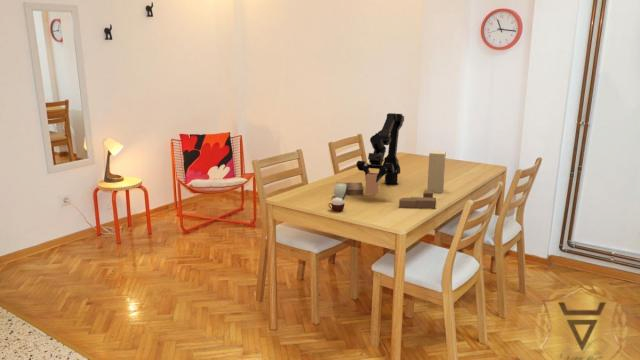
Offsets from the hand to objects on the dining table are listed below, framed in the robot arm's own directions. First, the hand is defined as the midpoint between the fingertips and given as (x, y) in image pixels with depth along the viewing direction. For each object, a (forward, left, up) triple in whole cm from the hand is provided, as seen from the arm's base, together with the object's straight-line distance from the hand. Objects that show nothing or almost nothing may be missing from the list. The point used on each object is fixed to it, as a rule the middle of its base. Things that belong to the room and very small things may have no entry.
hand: (371, 181), depth 260 cm
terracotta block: (-1, -1, -7) cm, 7 cm away
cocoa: (+16, +15, -11) cm, 24 cm away
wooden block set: (-22, +3, -11) cm, 25 cm away
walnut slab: (+10, -17, -10) cm, 23 cm away
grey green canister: (+15, -6, -10) cm, 20 cm away
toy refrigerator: (-36, -18, -10) cm, 41 cm away
